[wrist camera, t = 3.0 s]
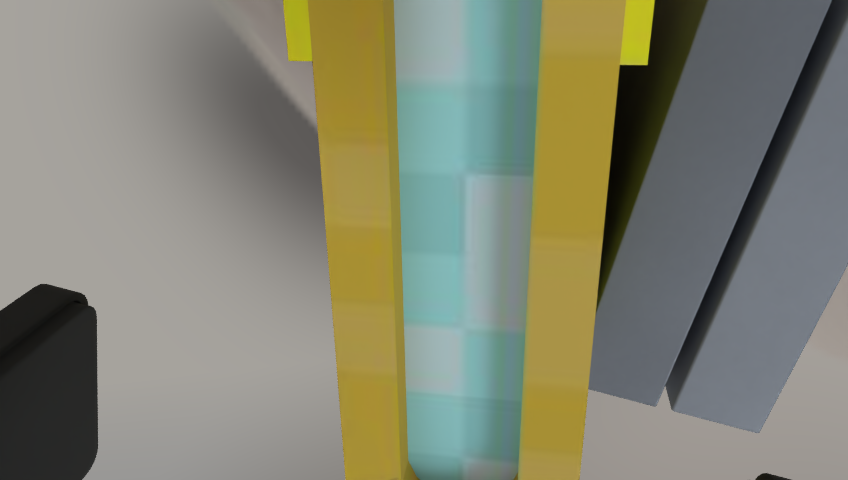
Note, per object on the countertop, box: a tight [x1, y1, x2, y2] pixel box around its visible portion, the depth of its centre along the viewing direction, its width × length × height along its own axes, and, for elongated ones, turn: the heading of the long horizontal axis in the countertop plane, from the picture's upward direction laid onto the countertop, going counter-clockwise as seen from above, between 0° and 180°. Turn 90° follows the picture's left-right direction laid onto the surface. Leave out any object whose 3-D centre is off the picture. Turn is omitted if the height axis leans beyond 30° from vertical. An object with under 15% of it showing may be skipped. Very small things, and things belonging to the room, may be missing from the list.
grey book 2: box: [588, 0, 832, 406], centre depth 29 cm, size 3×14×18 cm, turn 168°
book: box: [283, 0, 655, 480], centre depth 26 cm, size 17×7×25 cm, turn 1°
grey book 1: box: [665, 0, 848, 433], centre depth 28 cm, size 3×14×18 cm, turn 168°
